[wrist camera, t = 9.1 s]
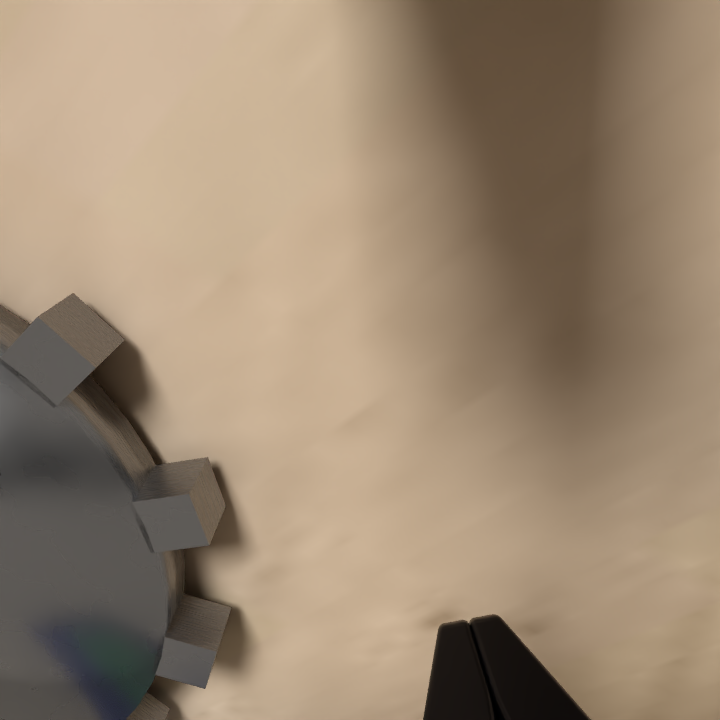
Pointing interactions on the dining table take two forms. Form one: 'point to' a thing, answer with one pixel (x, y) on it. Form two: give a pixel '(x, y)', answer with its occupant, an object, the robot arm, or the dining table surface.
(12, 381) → the sprocket
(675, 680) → the dining table surface
